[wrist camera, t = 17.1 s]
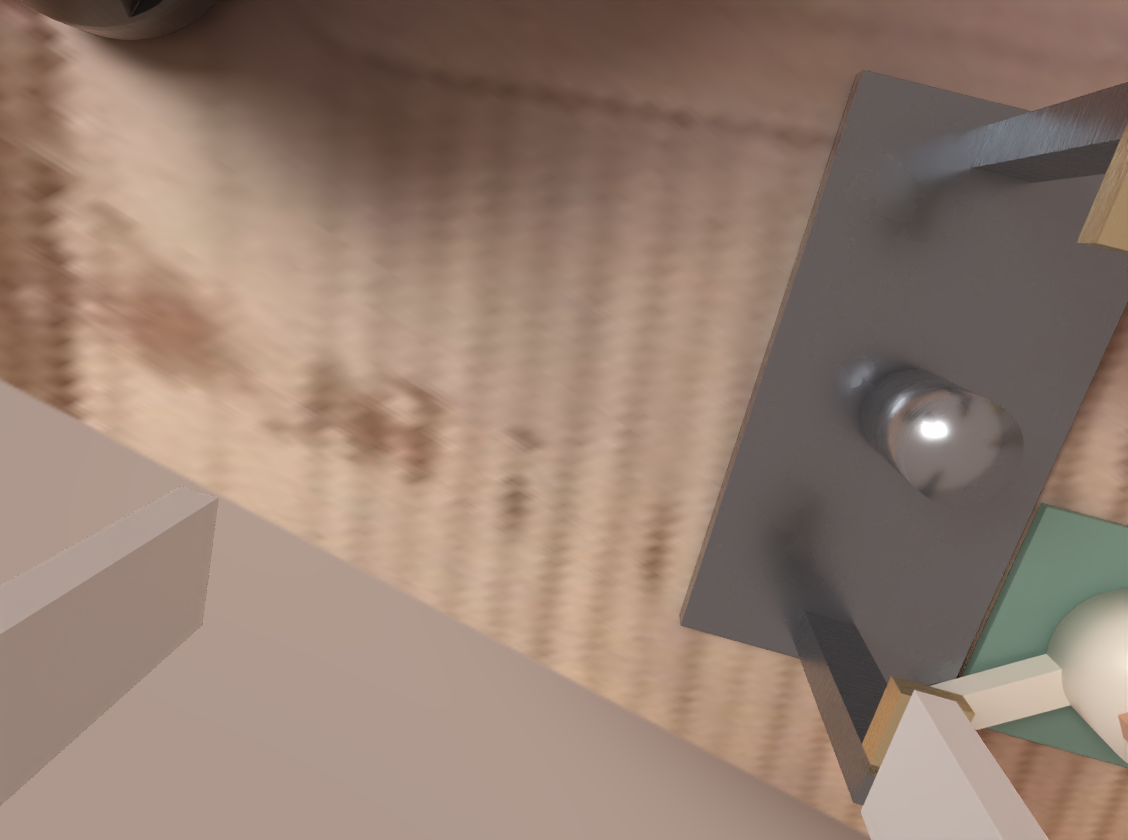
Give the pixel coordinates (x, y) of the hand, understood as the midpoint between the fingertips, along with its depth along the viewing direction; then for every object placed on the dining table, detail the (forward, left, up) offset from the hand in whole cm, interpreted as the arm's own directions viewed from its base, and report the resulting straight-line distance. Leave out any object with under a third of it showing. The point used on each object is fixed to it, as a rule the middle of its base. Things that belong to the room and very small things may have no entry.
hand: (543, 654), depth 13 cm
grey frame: (-2, +16, -29) cm, 33 cm away
